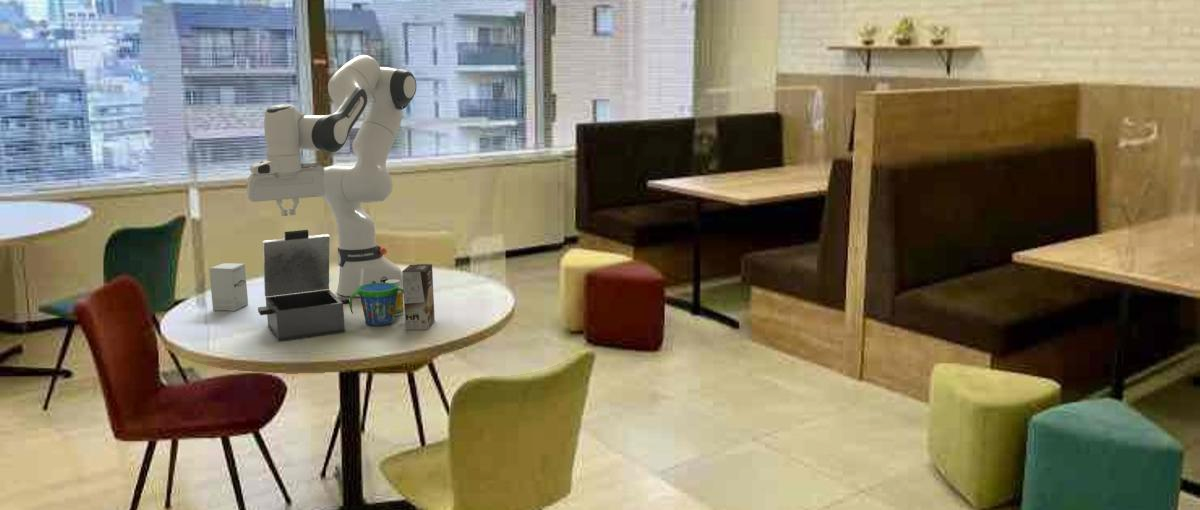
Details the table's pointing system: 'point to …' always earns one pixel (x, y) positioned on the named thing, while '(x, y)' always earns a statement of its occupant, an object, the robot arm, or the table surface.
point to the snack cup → (377, 302)
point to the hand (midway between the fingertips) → (288, 215)
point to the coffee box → (418, 296)
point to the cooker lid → (296, 263)
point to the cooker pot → (305, 314)
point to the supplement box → (228, 286)
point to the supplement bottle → (398, 298)
